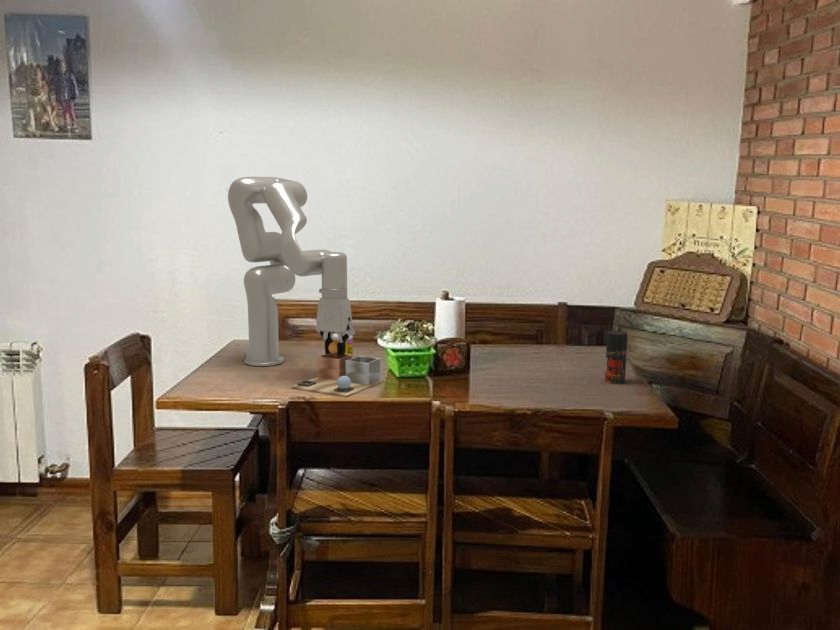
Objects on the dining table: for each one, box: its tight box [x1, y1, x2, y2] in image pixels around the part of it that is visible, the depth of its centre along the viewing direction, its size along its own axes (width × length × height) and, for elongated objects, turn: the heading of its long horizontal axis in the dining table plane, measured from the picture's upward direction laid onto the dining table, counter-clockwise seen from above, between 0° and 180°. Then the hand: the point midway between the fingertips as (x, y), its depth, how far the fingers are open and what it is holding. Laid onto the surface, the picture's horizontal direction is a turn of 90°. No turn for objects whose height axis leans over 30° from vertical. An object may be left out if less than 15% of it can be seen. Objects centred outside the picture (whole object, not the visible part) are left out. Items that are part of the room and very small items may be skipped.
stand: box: [290, 353, 384, 396], centre depth 238 cm, size 19×20×7 cm
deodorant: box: [604, 330, 628, 385], centre depth 245 cm, size 6×6×15 cm
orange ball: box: [328, 341, 338, 355], centre depth 245 cm, size 4×4×4 cm
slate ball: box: [337, 376, 351, 390], centre depth 231 cm, size 4×4×4 cm
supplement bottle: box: [331, 331, 354, 355], centre depth 263 cm, size 7×7×13 cm
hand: (335, 353), depth 245 cm, fingers closed on orange ball, 3 cm apart
